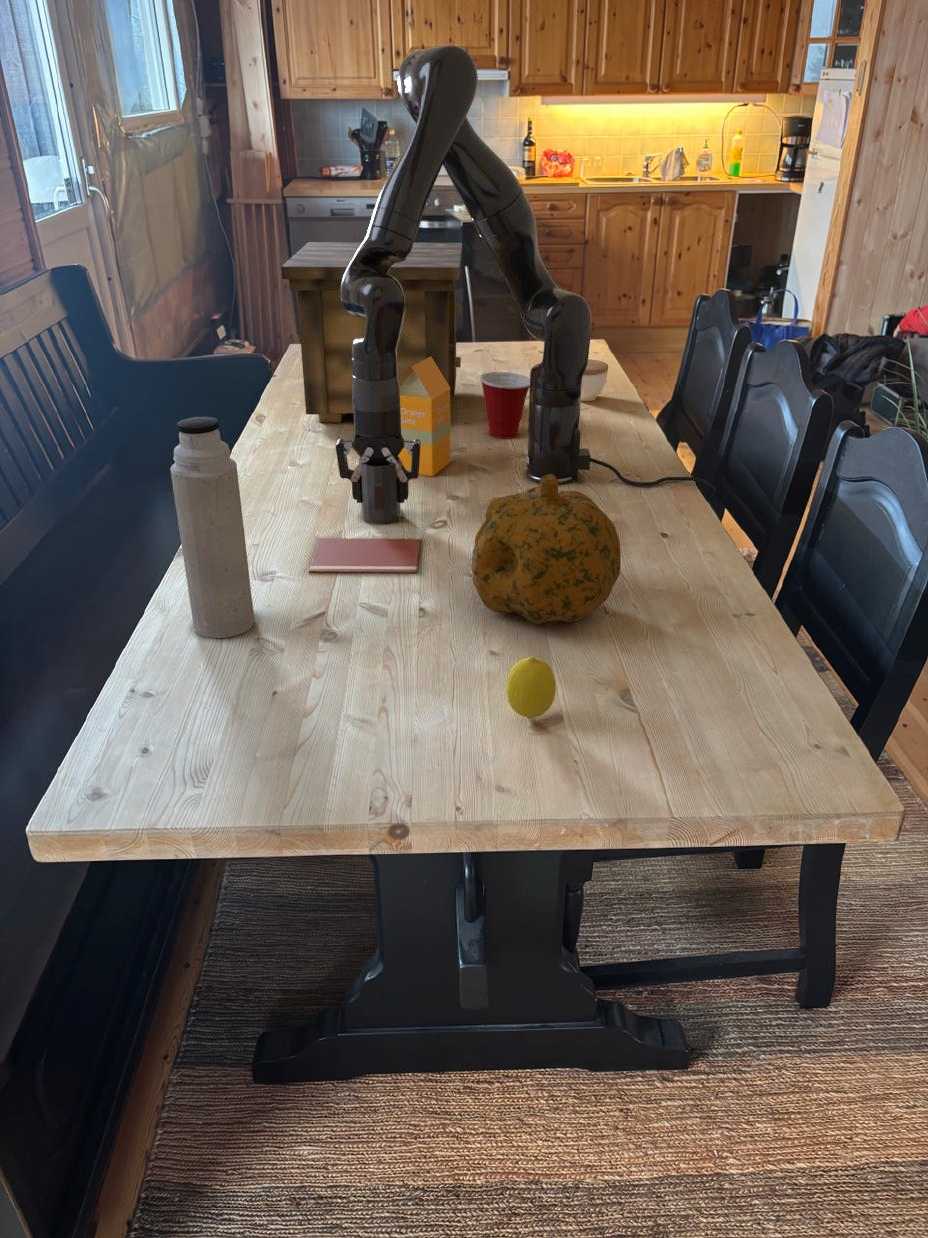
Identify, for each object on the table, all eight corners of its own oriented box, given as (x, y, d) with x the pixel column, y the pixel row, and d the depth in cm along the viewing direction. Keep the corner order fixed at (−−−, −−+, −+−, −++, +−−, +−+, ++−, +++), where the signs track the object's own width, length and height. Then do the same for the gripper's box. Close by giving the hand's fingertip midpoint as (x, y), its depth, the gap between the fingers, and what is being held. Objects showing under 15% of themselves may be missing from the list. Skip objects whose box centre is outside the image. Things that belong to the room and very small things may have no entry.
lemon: (502, 705, 115) (504, 646, 111) (549, 703, 115) (552, 644, 111) (508, 732, 110) (510, 671, 106) (557, 730, 110) (561, 669, 106)
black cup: (402, 509, 168) (400, 453, 163) (399, 524, 162) (397, 466, 158) (364, 509, 168) (361, 453, 164) (360, 524, 163) (357, 466, 158)
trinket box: (550, 397, 230) (552, 356, 225) (580, 388, 236) (583, 349, 232) (585, 406, 223) (587, 365, 218) (615, 398, 229) (618, 357, 225)
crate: (318, 384, 239) (308, 242, 224) (461, 385, 239) (461, 242, 223) (294, 428, 208) (281, 266, 193) (459, 429, 208) (459, 267, 192)
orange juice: (395, 471, 185) (391, 364, 176) (414, 456, 192) (412, 353, 183) (433, 476, 182) (431, 368, 173) (451, 461, 190) (451, 357, 180)
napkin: (420, 540, 157) (420, 538, 156) (416, 573, 146) (416, 571, 146) (319, 540, 157) (319, 538, 156) (308, 572, 146) (308, 570, 146)
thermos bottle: (214, 606, 137) (187, 408, 123) (265, 615, 134) (243, 414, 121) (182, 632, 130) (150, 426, 117) (234, 642, 128) (208, 433, 114)
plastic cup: (526, 444, 199) (528, 385, 193) (474, 440, 201) (474, 382, 195) (534, 428, 209) (536, 371, 203) (484, 425, 210) (484, 369, 205)
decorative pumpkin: (591, 560, 148) (597, 435, 137) (634, 637, 131) (646, 502, 119) (459, 574, 145) (454, 449, 134) (486, 656, 128) (483, 519, 117)
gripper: (423, 396, 159) (424, 493, 167) (334, 396, 160) (340, 493, 167) (420, 410, 153) (422, 510, 161) (328, 409, 153) (335, 509, 161)
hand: (380, 501), depth 164 cm, fingers closed on black cup, 6 cm apart
